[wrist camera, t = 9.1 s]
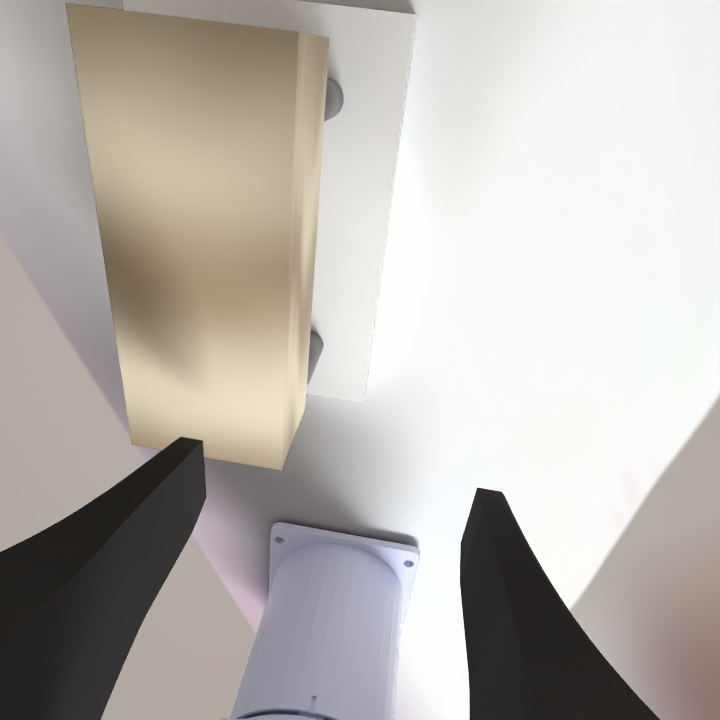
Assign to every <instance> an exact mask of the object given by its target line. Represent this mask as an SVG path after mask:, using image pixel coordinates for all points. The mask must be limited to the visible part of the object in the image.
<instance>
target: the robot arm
mask: <svg viewBox="0 0 720 720" xmlns="http://www.w3.org/2000/svg"><path fill="white" fill-rule="evenodd" d="M205 499H206V483H205V466H204V449H203V440H197V439H192V438H186V437H179V438H178V439H177V440H175V441H174V442H172V443H171V444H170V445H168V446H167V447H166V448H165V449H163V450H162V451H161V452H159V453H158V454H157V455H155V456H154V457H153V458H151V459H150V460H149V461H147V462H146V463H145V464H144V465H142V466H141V467H140V468H138V469H137V470H136V471H134V472H133V473H132V474H130V475H129V476H127V477H126V478H125V479H123V480H122V481H120V482H119V483H118V484H116V485H115V486H114V487H112V488H111V489H109V490H108V491H106V492H105V493H103V494H102V495H100V496H99V497H97V498H96V499H94V500H93V501H91V502H90V503H88V504H87V505H85V506H84V507H82V508H81V509H79V510H78V511H76V512H74V513H73V514H71V515H69V516H68V517H66V518H64V519H63V520H61V521H59V522H58V523H56V524H54V525H52V526H51V527H49V528H47V529H45V530H43V531H41V532H40V533H38V534H36V535H34V536H32V537H30V538H28V539H26V540H24V541H22V542H20V543H18V544H16V545H14V546H12V547H10V548H8V549H6V550H4V551H2V552H0V720H101V717H102V715H103V712H104V710H105V707H106V705H107V702H108V700H109V697H110V695H111V693H112V690H113V688H114V686H115V683H116V681H117V678H118V676H119V674H120V671H121V669H122V667H123V664H124V662H125V660H126V658H127V655H128V653H129V651H130V648H131V646H132V644H133V642H134V639H135V637H136V635H137V633H138V630H139V628H140V626H141V624H142V622H143V620H144V618H145V616H146V614H147V612H148V610H149V609H150V607H151V605H152V603H153V601H154V600H155V598H156V596H157V594H158V593H159V590H160V589H161V587H162V585H163V584H164V582H165V580H166V578H167V577H168V575H169V573H170V571H171V569H172V568H173V566H174V564H175V562H176V560H177V559H178V557H179V555H180V553H181V552H182V550H183V548H184V546H185V544H186V543H187V541H188V539H189V537H190V535H191V533H192V531H193V529H194V527H195V524H196V522H197V519H198V517H199V515H200V512H201V509H202V507H203V504H204V502H205ZM280 537H281V538H280ZM419 559H420V551H419V549H418V548H416V547H414V546H411V545H405V544H400V543H394V542H389V541H383V540H378V539H372V538H366V537H361V536H355V535H350V534H344V533H339V532H333V531H328V530H322V529H316V528H311V527H305V526H300V525H294V524H289V523H283V522H277V523H274V524H273V526H272V529H271V536H270V572H269V597H268V600H267V603H266V606H265V610H264V613H263V616H262V619H261V622H260V625H259V628H258V632H257V635H256V638H255V641H254V644H253V647H252V651H251V654H250V657H249V660H248V663H247V666H246V669H245V673H244V676H243V679H242V682H241V685H240V688H239V691H238V694H237V698H236V701H235V704H234V707H233V710H232V713H231V717H230V719H229V718H221V719H220V720H394V714H395V699H396V685H397V670H398V655H399V641H400V636H401V632H402V628H403V624H404V620H405V616H406V612H407V607H408V603H409V599H410V595H411V591H412V587H413V583H414V579H415V575H416V571H417V567H418V563H419ZM407 560H409V561H407ZM460 586H461V597H462V608H463V619H464V629H465V639H466V650H467V660H468V670H469V688H470V720H660V719H659V718H658V717H657V716H656V715H655V714H654V713H653V712H652V711H651V710H650V709H649V708H648V706H646V705H645V703H644V702H643V701H642V700H641V699H640V698H639V697H638V696H637V695H636V694H635V693H634V691H633V690H632V689H631V688H630V687H629V686H628V684H627V683H626V682H625V681H624V680H623V679H622V678H621V676H620V675H619V674H618V673H617V672H616V671H615V670H614V668H613V667H612V666H611V665H610V664H609V663H608V661H607V660H606V659H605V658H604V657H603V655H602V654H601V653H600V651H599V650H598V649H597V648H596V646H595V645H594V644H593V643H592V641H591V640H590V639H589V637H588V636H587V635H586V633H585V632H584V631H583V629H582V628H581V627H580V625H579V624H578V623H577V621H576V620H575V618H574V617H573V615H572V614H571V613H570V611H569V610H568V608H567V607H566V605H565V604H564V602H563V601H562V599H561V598H560V596H559V595H558V593H557V592H556V590H555V588H554V587H553V585H552V584H551V582H550V580H549V579H548V577H547V576H546V574H545V572H544V571H543V569H542V567H541V565H540V564H539V562H538V560H537V558H536V557H535V555H534V553H533V551H532V550H531V548H530V546H529V544H528V542H527V540H526V539H525V537H524V535H523V533H522V531H521V529H520V527H519V525H518V523H517V521H516V519H515V517H514V515H513V513H512V511H511V509H510V507H509V504H508V502H507V500H506V498H505V496H504V495H503V493H502V492H499V491H494V490H488V489H482V488H477V491H476V494H475V497H474V501H473V504H472V507H471V511H470V514H469V517H468V521H467V524H466V527H465V531H464V534H463V537H462V541H461V557H460Z"/></svg>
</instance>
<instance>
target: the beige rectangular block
mask: <svg viewBox="0 0 720 720" xmlns="http://www.w3.org/2000/svg"><path fill="white" fill-rule="evenodd" d="M66 9H67V15H68V22H69V29H70V35H71V42H72V49H73V56H74V62H75V69H76V76H77V82H78V89H79V96H80V102H81V109H82V116H83V122H84V129H85V136H86V142H87V149H88V156H89V162H90V169H91V176H92V182H93V189H94V196H95V202H96V209H97V216H98V222H99V229H100V236H101V242H102V249H103V256H104V262H105V269H106V276H107V282H108V289H109V296H110V302H111V309H112V316H113V322H114V329H115V336H116V342H117V349H118V356H119V362H120V369H121V376H122V382H123V389H124V396H125V402H126V409H127V416H128V422H129V429H130V436H131V442H132V445H137V446H143V447H148V448H154V449H160V450H163V449H165V448H166V447H167V446H168V445H170V444H171V443H172V442H174V441H175V440H177V439H178V438H179V437H186V438H192V439H197V440H203V449H204V457H206V458H212V459H217V460H223V461H229V462H235V463H240V464H246V465H252V466H258V467H263V468H269V469H275V470H282V468H283V465H284V462H285V460H286V457H287V455H288V452H289V449H290V447H291V444H292V442H293V439H294V436H295V434H296V431H297V429H298V426H299V423H300V421H301V418H302V416H303V413H304V410H305V406H306V391H307V376H308V361H309V345H310V330H311V315H312V300H313V284H314V269H315V254H316V238H317V223H318V208H319V193H320V177H321V162H322V147H323V132H324V116H325V101H326V86H327V71H328V55H329V40H330V38H328V37H323V36H318V35H313V34H309V33H304V32H299V31H291V30H283V29H275V28H267V27H258V26H250V25H242V24H234V23H226V22H218V21H209V20H201V19H193V18H185V17H177V16H169V15H161V14H152V13H144V12H136V11H128V10H120V9H112V8H104V7H95V6H87V5H79V4H71V3H66Z"/></svg>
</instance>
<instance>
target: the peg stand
mask: <svg viewBox="0 0 720 720" xmlns="http://www.w3.org/2000/svg"><path fill="white" fill-rule="evenodd" d="M122 2H123V10H128V11H136V12H144V13H152V14H161V15H169V16H177V17H185V18H193V19H201V20H209V21H218V22H226V23H234V24H242V25H250V26H258V27H267V28H275V29H283V30H291V31H299V32H304V33H309V34H313V35H318V36H323V37H328V38H330V40H329V55H328V71H327V86H326V101H325V116H324V132H323V147H322V162H321V177H320V193H319V208H318V223H317V238H316V254H315V269H314V284H313V300H312V315H311V330H310V345H309V361H308V376H307V391H306V394H308V395H314V396H320V397H326V398H332V399H338V400H344V401H351V402H357V403H363V401H364V397H365V392H366V386H367V379H368V371H369V364H370V356H371V349H372V342H373V334H374V327H375V319H376V312H377V305H378V297H379V290H380V283H381V275H382V268H383V260H384V253H385V246H386V238H387V231H388V223H389V216H390V209H391V201H392V194H393V187H394V179H395V172H396V164H397V157H398V150H399V142H400V135H401V127H402V120H403V113H404V105H405V98H406V90H407V83H408V76H409V68H410V61H411V54H412V46H413V39H414V31H415V24H416V15H415V14H408V13H400V12H392V11H383V10H375V9H366V8H358V7H350V6H341V5H333V4H324V3H316V2H308V1H299V0H122Z"/></svg>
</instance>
